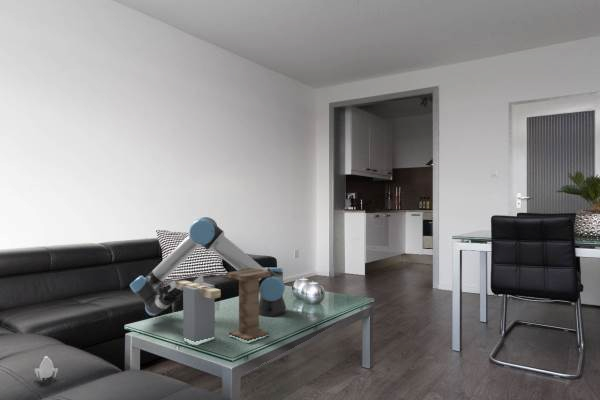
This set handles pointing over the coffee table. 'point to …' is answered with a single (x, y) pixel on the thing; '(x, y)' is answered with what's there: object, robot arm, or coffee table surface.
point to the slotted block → (198, 314)
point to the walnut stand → (248, 303)
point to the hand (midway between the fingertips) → (189, 280)
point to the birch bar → (200, 289)
